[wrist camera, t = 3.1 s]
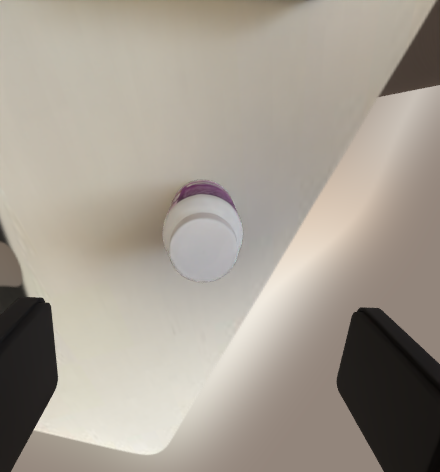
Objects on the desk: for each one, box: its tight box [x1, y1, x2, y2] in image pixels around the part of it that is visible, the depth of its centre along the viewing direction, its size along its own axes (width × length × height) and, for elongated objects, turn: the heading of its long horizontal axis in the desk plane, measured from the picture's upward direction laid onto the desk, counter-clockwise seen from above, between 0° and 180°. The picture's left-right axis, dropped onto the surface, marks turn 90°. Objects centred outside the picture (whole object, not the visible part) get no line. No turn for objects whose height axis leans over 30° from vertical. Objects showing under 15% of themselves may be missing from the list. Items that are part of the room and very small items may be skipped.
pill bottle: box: [162, 180, 243, 282], centre depth 22 cm, size 5×5×10 cm
